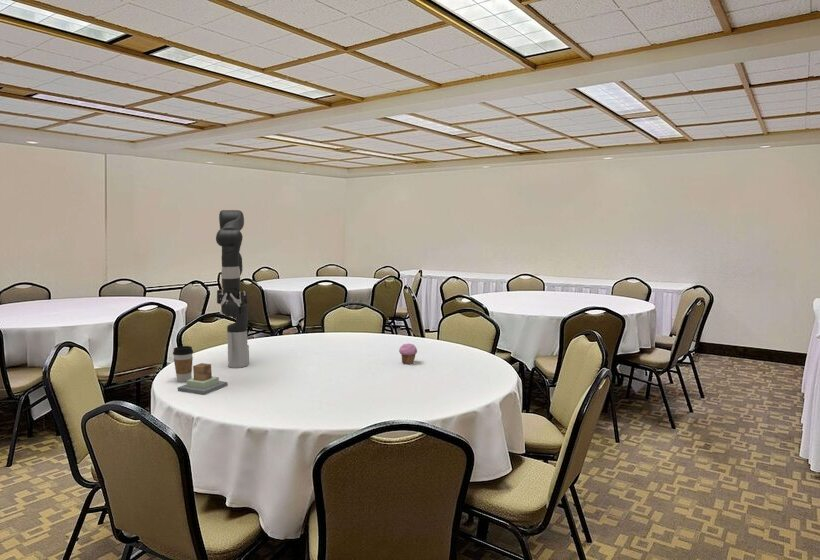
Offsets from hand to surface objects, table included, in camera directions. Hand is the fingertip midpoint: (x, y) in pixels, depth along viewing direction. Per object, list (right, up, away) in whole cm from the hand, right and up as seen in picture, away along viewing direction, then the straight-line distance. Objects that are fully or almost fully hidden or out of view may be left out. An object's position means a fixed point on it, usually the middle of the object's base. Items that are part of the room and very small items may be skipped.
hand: (232, 314), depth 237 cm
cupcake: (+75, -27, +38) cm, 89 cm away
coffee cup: (-24, -30, +8) cm, 39 cm away
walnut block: (-11, -27, -4) cm, 30 cm away
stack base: (-11, -31, -3) cm, 33 cm away
